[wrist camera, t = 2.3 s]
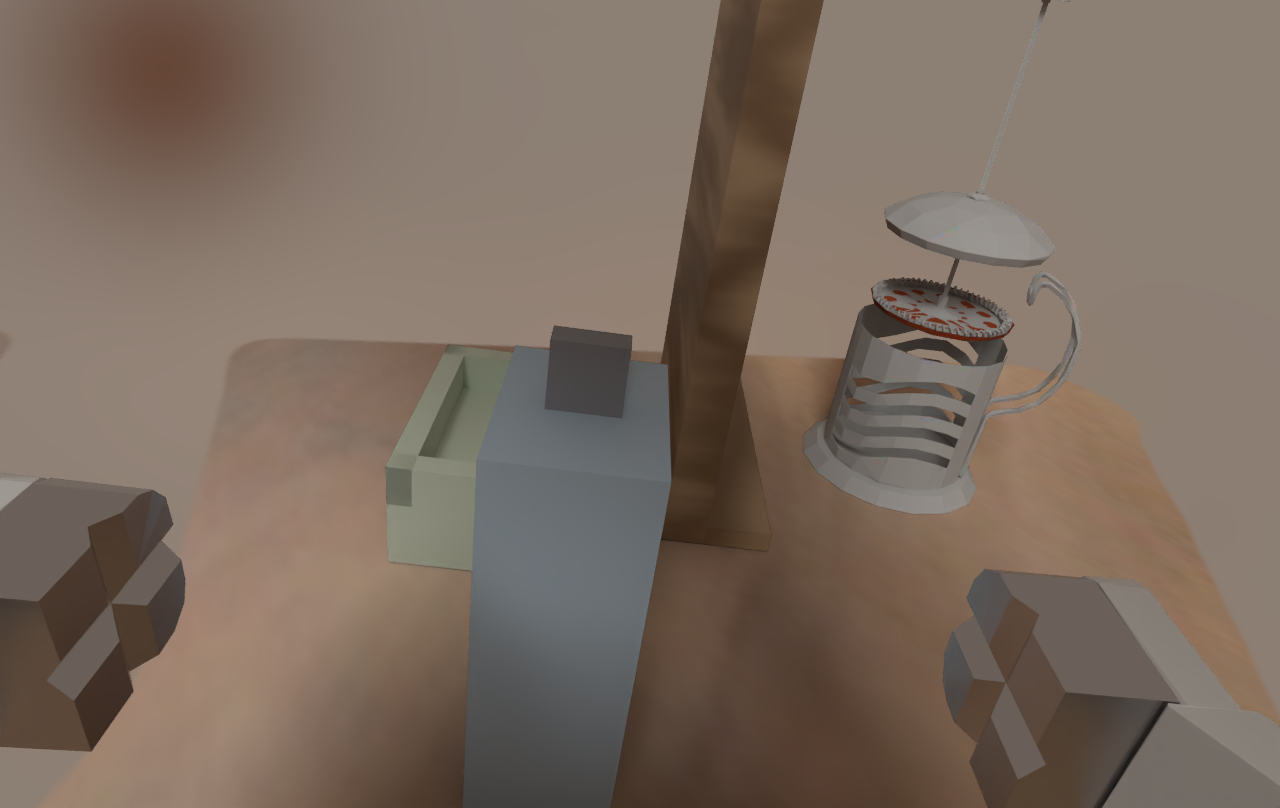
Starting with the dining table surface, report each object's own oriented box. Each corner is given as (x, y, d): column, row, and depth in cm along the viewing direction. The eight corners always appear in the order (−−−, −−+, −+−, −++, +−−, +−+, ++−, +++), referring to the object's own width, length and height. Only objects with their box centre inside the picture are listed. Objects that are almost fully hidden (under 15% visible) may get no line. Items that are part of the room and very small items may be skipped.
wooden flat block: (660, 539, 37) (770, -53, 26) (658, 377, 51) (729, -55, 39) (767, 551, 38) (925, -29, 26) (736, 387, 51) (830, -39, 40)
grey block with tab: (462, 808, 25) (479, 382, 17) (495, 658, 30) (519, 281, 23) (607, 822, 25) (685, 408, 18) (615, 671, 30) (678, 302, 23)
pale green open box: (388, 561, 34) (385, 466, 31) (446, 424, 43) (448, 344, 41) (602, 585, 34) (616, 494, 32) (613, 445, 44) (624, 366, 41)
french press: (820, 400, 52) (945, -45, 39) (1009, 457, 48) (1210, -7, 36) (784, 475, 43) (928, -55, 31) (1009, 550, 40) (1268, -7, 28)
